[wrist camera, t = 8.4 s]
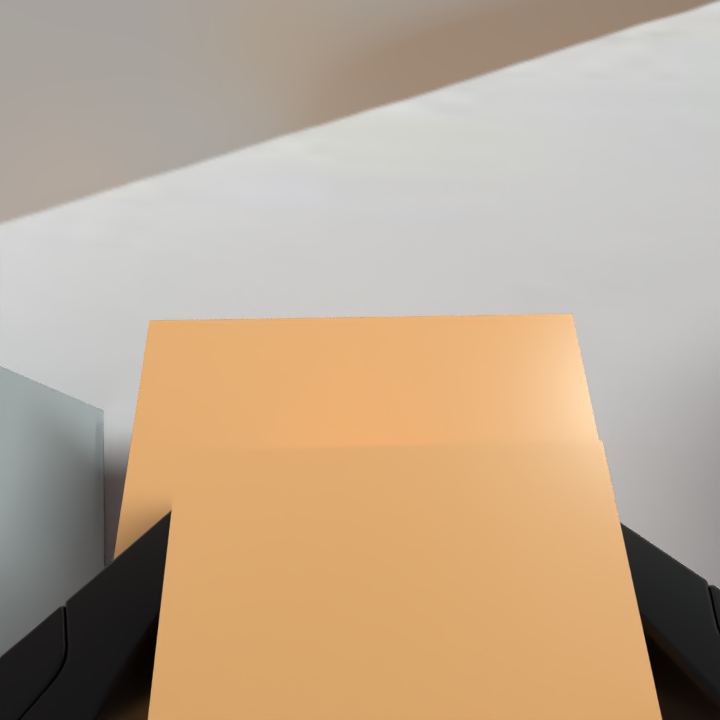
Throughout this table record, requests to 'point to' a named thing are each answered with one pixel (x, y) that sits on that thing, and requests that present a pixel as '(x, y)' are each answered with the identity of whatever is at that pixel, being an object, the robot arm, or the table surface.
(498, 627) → the lid
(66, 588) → the tub
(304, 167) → the table surface
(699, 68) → the table surface
